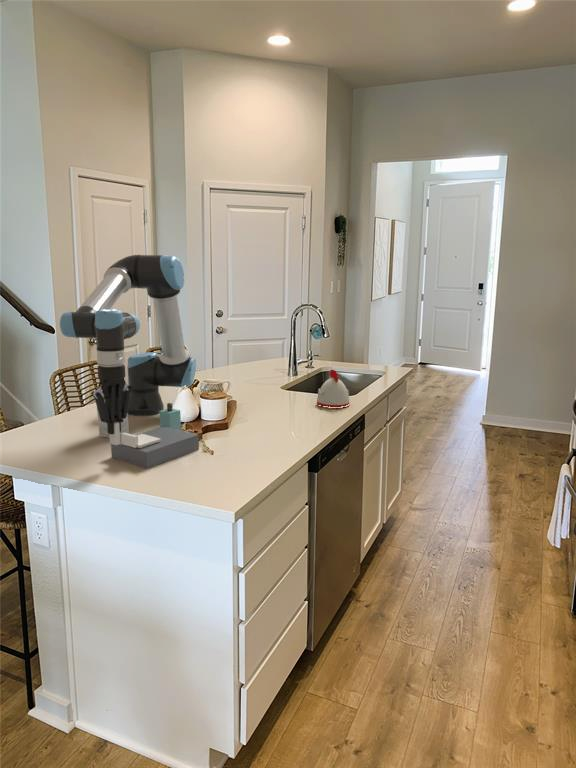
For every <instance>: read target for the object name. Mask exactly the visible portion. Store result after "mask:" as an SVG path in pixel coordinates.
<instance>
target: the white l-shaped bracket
mask: <svg viewBox="0 0 576 768" xmlns="http://www.w3.org/2000/svg"><path fill="white" fill-rule="evenodd" d="M120 439H122V440H121V443H122V444H123V445H126V446H130V447H133V448H137V447H138V448H142V447H145V446H148V445H151V444H154V443H157V442H160V441H161V439H160V438H156V437H153V436H149V435H145V434H140V435H137V436H136V435H135V434H131V433H129V434H128V433H125V432H124V433H121V438H120Z"/></svg>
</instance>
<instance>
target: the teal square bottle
mask: <svg viewBox="0 0 576 768" xmlns="http://www.w3.org/2000/svg"><path fill="white" fill-rule="evenodd" d="M158 414H159V427H162V426H166V427H170V428H174V429H178V430H182V428H181V427H182V426H181V424H182V423H181V410H179V409H177V408H173V403H172V402H167V403H166V409H165V408H164V410H161V411H159V413H158Z"/></svg>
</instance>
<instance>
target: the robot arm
mask: <svg viewBox="0 0 576 768" xmlns="http://www.w3.org/2000/svg"><path fill="white" fill-rule="evenodd" d="M184 272H185V271H184V269H183V266H182V263H181V261H180V259H178V257H176V256H175V255H166V254H161V255H160V254H159V255H158V254H157V255H156V254H155V255H154V254H152V255H151V254H146V255H145V254H133V255H129V256H126V257H123V258H121V259H119V260H117V261H116V262H114V263H113V264H111V266H109V267H108V268H107V270H105V272H104V274H103V279H102V280H101V282H99V283H98V285H97V286H96V287H95V288H94V290H92V292H91V294H89V296H87V298H86V299H85V301H84V302H83V303H82V304H81V305H80V307H78V308H77V310H76V311H75V312H74V311H70V312H69V311H68V312H63V313H62V314H61V316H60V319H59V328H60V331H61V334H62V335H63V336H64V337H67V338H75V339H77V338H80V339H95V341H96V363H97V364H98V366H97V378H98V380H99V382H98V387H97V389H96V390H95V391H91V396H92V397H93V398H94V402H95V404H96V410H97V409H98V412H99V416H100V419H101V422H105V423H107V429H108V434H110V438H109V443H110V445H111V444H113V445H119V444H120V439H121V438H120V432H121V422H123V421H124V420H122V419H124V418H126V417H127V413H128V415H130V416H131V415H132V416H151V415H153V416H154V415H157V414H160V413H159V411H161V410H165V407H164V405H165V404H164V402H163V401H162V397H161V393H160V390H159V389H160V388H159V387H176V388H184V387H183V386H184V385H186V387H185V388H189V387H191V386H192V384H193V382H194V381H195V376H196V375H195V374H196V369H197V361H196V360H197V359H196V358H195V357H191V354H190V352H189V350H187V349H186V348H185V342H184V335H183V328H182V321H181V315H180V309H179V301H178V296H179V294H180V293H181V290H182V289H183V287H184V285H185V284H184V283H185V278H184V277H185V274H184ZM131 289H132V290H133V289H146V292H147V295H148V296H149V298H151V299H152V300H153V301H152V302H153V305H154V306H153V307H154V311H155V316H156V317H155V318H156V323H157V330H158V334H159V342H160V346H161V353H160V354H158V352H153V351H152V352H151V351H150V352H141V353H136V354H132V355H131V356H129V357H128V358H127V368H126V365H125V364H124V363H125V362H126V361H125V360H126V359H125V340H127V339H131V338H132V337H134V336H136V335H137V333H138V332H139V330H140V327H141V326H140V325H141V324H140V320H139V318H138V317H137V315H135V314H134V313H131V312H122V310H120V309H113V307H114V305H115V304H116V303H117V301H118V300H119V299H120V297H121V296H122V294H125V293H127V292H128V291H129V290H131ZM126 369H127V381H128V383H126V379H125V378H126ZM102 393H103V394H104V398H103V394H102ZM104 400H105V401H104Z"/></svg>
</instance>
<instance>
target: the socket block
mask: <svg viewBox="0 0 576 768" xmlns="http://www.w3.org/2000/svg"><path fill="white" fill-rule="evenodd" d="M140 434H145V435H149V436H153V437H156V438H160V439H161V441H160V442H157V443H154V444H151V445H148V446H145V447H142V448H138V447H137V448H133V447H130V446H126V445H123V444H122V443H121V440H122V439H121V438H120V444H119V445H113V444H110V449H111V450H110V451H111V458H113V459H116V460H119V461H122V462H125V463H129V464H131V465H135V466H138V467H142V468H145V469H150V468H153V467H155V466H158V465H161V464H163V463H166V462H169V461H172V460H174V459H176V458H179V457H181V456H184V455H188V454H190V453H193V452H197V451H198V450H199V449H200V437H199V436H200V435H199V434H198V433H194V432H190V431H186V430H183V429H181V430H178V429H174V428H170V427H166V426H162V427H160V426H159V427H155V428H153V429H149V430H146V431H143V432H139V433H136V434H135V433H134V435H136V436H137V435H140Z"/></svg>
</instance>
